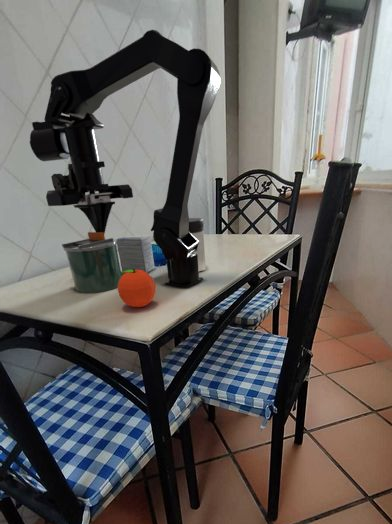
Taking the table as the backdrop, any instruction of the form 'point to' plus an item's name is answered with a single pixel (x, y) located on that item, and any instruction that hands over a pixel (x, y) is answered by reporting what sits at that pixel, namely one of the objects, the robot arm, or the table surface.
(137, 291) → the clementine
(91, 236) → the slider
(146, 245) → the medicine box
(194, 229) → the jar
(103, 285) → the canister
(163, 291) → the table surface
